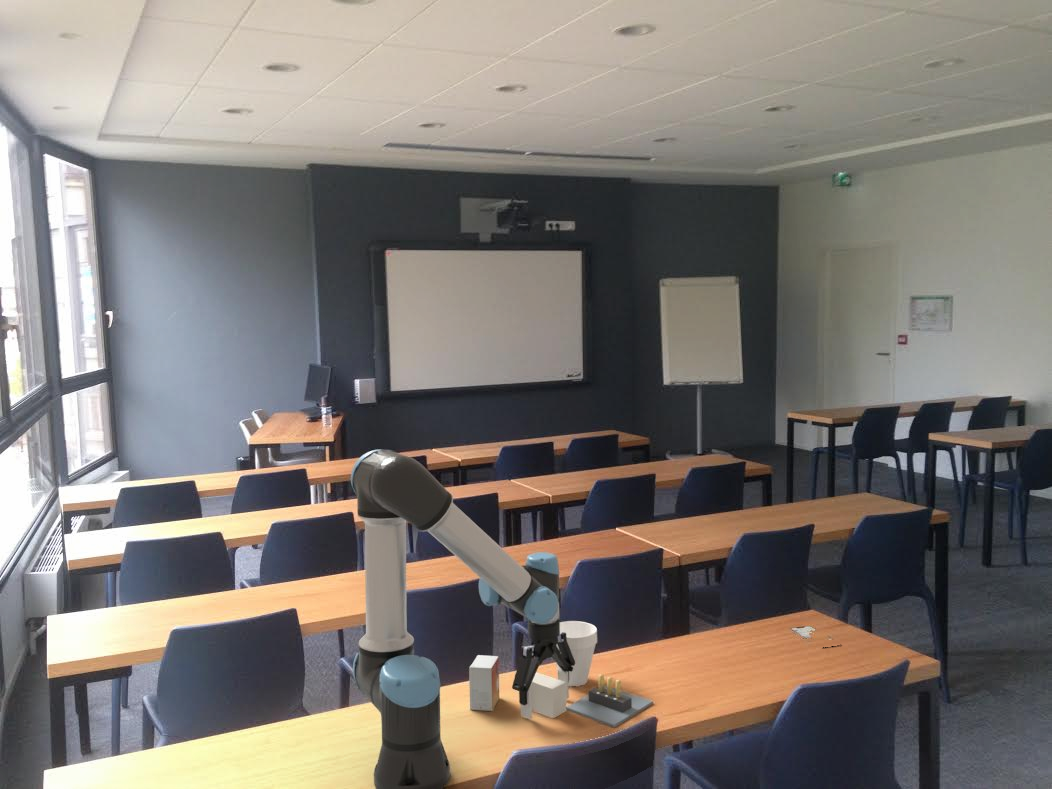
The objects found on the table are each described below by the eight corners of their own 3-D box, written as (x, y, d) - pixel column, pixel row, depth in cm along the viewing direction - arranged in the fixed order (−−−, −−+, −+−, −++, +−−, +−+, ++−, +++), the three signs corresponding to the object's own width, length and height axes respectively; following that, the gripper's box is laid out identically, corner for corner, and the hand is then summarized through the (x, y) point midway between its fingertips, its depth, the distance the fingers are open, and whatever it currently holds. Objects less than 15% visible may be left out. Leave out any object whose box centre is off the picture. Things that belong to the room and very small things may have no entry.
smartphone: (819, 647, 232) (788, 628, 247) (819, 651, 232) (788, 631, 247) (842, 644, 234) (810, 625, 249) (842, 648, 234) (809, 629, 249)
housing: (552, 718, 192) (552, 689, 192) (523, 707, 198) (523, 678, 198) (566, 710, 196) (565, 682, 195) (537, 700, 202) (537, 672, 201)
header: (614, 727, 187) (613, 697, 187) (565, 709, 196) (565, 680, 196) (653, 703, 199) (653, 675, 199) (605, 687, 208) (605, 660, 208)
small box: (492, 712, 196) (491, 668, 195) (469, 710, 197) (468, 667, 196) (500, 697, 204) (499, 655, 203) (478, 695, 205) (477, 654, 204)
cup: (606, 686, 209) (605, 633, 208) (561, 694, 205) (561, 640, 204) (585, 668, 221) (584, 618, 220) (542, 675, 216) (541, 624, 215)
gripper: (520, 638, 184) (521, 730, 185) (588, 608, 202) (589, 693, 204) (495, 630, 189) (497, 720, 190) (564, 602, 207) (566, 685, 209)
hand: (545, 706), depth 197 cm, fingers open, 13 cm apart
